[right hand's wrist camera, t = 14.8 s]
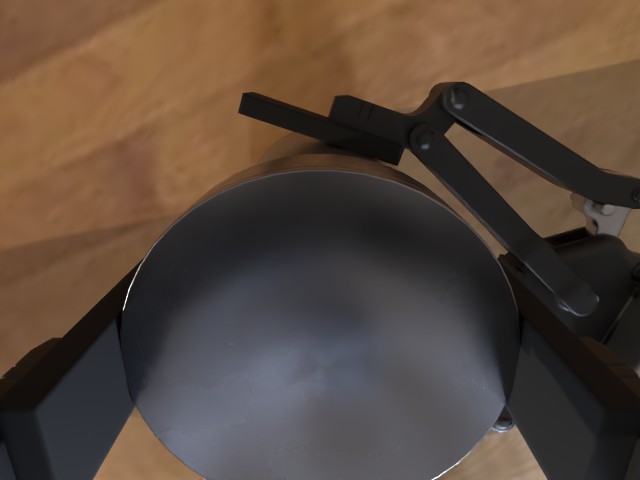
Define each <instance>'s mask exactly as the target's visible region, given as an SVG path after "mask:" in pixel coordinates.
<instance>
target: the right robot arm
mask: <svg viewBox="0 0 640 480" xmlns="http://www.w3.org/2000/svg"><path fill="white" fill-rule="evenodd" d="M142 261H143V259H142V260H141V261H140V262H139V263H138V264H137V265H136V266H135V267H134V268H133V269H132V270H131V271H130V272H129V273H128V274H127V275H126V276H125V277H124V278H123V279H122V280H121V281H120V282H119V283H118V284H117V285H116V286H115V287H114V288H113V289H112V290H111V291H110V292H109V293H108V294H107V295H106V296H104V297H103V298H102V299H101V300H100V301H99V302H98V303H97V304H96V305H95V306H94V307H93V308H92V309H91V310H90V311H89V312H88V313H87V314H86V315H85V316H84V317H83V318H82V319H81V320H80V321H79V322H78V323H77V324H76V325H75V326H74V327H73V328H72V329H71V330H70V331H69V332H68V333H67V334H66V335H65V336H64V337H63V338H52V339H50V340H48V341H46V342H45V343H43V344H41V345H39V346H38V347H36V348H34V349H32V350H31V351H30V352H29V353H27V354H26V355H25V356H24V357H23V358H22V359H21V360H20V361H19V362H18V363H17V364H16V366H15V367H12V368H11V369H10V370H9V371H8V372H7V373H6V374H4V375H3V378H2V379H0V480H93V478H94V477H95V475H96V473H97V471H98V470H99V468H100V466H101V464H102V463H103V461H104V459H105V457H106V456H107V454H108V452H109V451H110V449H111V447H112V445H113V444H114V442H115V440H116V438H117V437H118V435H119V433H120V431H121V430H122V428H123V426H124V425H125V423H126V421H127V419H128V418H129V416H130V414H131V412H132V411H133V409H134V407H135V403H134V401H133V399H132V396H131V393H130V390H129V388H128V385H127V380H126V376H125V370H124V365H123V360H122V354H121V348H120V329H121V320H122V312H123V307H124V304H125V300H126V297H127V293H128V290H129V287H130V284H131V282H132V280H133V278H134V276H135V274H136V272H137V269H138V267H139V265H140V264H141V262H142ZM498 261H499V260H498ZM499 262H500V261H499ZM500 264H501V266H502V268H503V270H504V272H505V274H506V276H507V279H508V281H509V283H510V285H511V288H512V291H513V294H514V298H515V301H516V305H517V308H518V315H519V322H520V330H521V339H520V352H519V358H518V363H517V368H516V373H515V379H514V383H513V387H512V390H511V393H510V395H509V398H508V400H507V402H506V404H505V406H506V408H507V410H508V412H509V413H510V415H511V417H512V419H513V420H514V422H515V424H516V426H517V427H518V429H519V431H520V432H521V434H522V436H523V438H524V439H525V441H526V443H527V445H528V446H529V448H530V450H531V452H532V453H533V455H534V457H535V458H536V460H537V462H538V464H539V465H540V467H541V469H542V471H543V472H544V474H545V476H546V478H547V479H548V480H640V378H639V376H638V374H637V373H636V372H635V371H634V370H633V369H632V368H630V367H629V366H626V365H625V362H624V361H623V360H622V359H621V358H619V357H618V356H617V355H616V354H615V353H614V352H613V351H612V350H611V349H609V348H608V347H606V346H604V345H602V344H601V343H599V342H597V341H595V340H593V339H592V338H590V337H577V336H576V335H575V334H574V333H573V332H572V331H571V330H570V329H569V328H568V327H567V326H566V325H565V324H564V323H563V322H562V321H561V320H560V319H559V318H557V317H556V316H555V315H554V314H553V313H552V312H551V311H550V310H549V309H548V308H547V307H546V306H545V305H544V304H543V303H542V302H541V301H540V300H539V299H538V298H537V297H536V296H535V295H534V294H533V293H532V292H531V291H530V290H529V289H528V288H527V287H526V286H525V285H524V284H523V283H522V282H521V281H520V280H519V279H518V278H517V277H516V276H514V275H513V274H512V273H511V272H510V271H509V270H508V269H507V268H506V267H505V266H504V265H503V264H502V263H501V262H500Z"/></svg>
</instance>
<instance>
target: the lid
mask: <svg viewBox="0 0 640 480" xmlns="http://www.w3.org/2000/svg"><path fill="white" fill-rule="evenodd" d="M520 339H521V330H520V322H519V315H518V308H517V305H516V301H515V298H514V294H513V291H512V288H511V285H510V283H509V281H508V279H507V276H506V274H505V272H504V270H503V268H502V266H501V264H500V262H499V261H498V259H497V258H496V257H495V255H494V254H493V252H492V251H491V249H490V248H489V246H488V245H487V243H486V242H485V241H484V240H483V239H482V238H481V237H480V236H479V235H478V234H477V233H476V231H475V230H474V229H473V228H472V227H471V226H470V225H469V224H468V223H467V222H466V221H465V220H464V219H463V218H462V217H461V216H459V215H458V214H457V213H456V212H455V211H454V210H453V209H452V208H451V207H450V206H449V205H448V204H447V203H445V202H444V201H443V200H442V199H441V198H440V197H438V196H437V195H436V194H435V193H433V192H432V191H431V190H430V189H428V188H427V187H426V186H425V185H423V184H421V183H420V182H418V181H416V180H415V179H413V178H411V177H409V176H408V175H406V174H404V173H402V172H400V171H397V170H395V169H393V168H390V167H388V166H386V165H383V164H380V163H377V162H373V161H369V160H365V159H362V158H358V157H351V156H343V155H336V154H304V155H297V156H290V157H283V158H279V159H275V160H271V161H268V162H264V163H261V164H257V165H255V166H253V167H250V168H248V169H246V170H243V171H241V172H239V173H236V174H234V175H233V176H231V177H229V178H228V179H226V180H224V181H223V182H221V183H219V184H218V185H216V186H215V187H213V188H212V189H211V190H210V191H208V192H207V193H206V194H205V195H204V196H202V197H201V198H200V199H199V200H197V201H196V202H195V203H194V204H193V205H192V206H191V207H190V208H189V209H188V210H187V211H186V212H184V213H183V214H182V215H181V216H180V217H179V218H178V219H177V220H176V221H175V222H174V223H173V224H172V225H171V226H170V227H169V228H168V229H167V230H166V231H165V232H164V233H163V234H162V235H161V237H160V238H159V239H158V240H157V241H156V242H155V243H154V244H153V246H152V247H151V249H150V250H149V252H148V253H147V255H146V256H145V258H144V259H143V261H142V262H141V264H140V265H139V267H138V269H137V272H136V274H135V276H134V278H133V280H132V282H131V284H130V287H129V290H128V293H127V297H126V300H125V304H124V307H123V312H122V320H121V329H120V348H121V354H122V360H123V365H124V370H125V376H126V380H127V385H128V388H129V390H130V393H131V396H132V399H133V401H134V403H135V405H136V406H137V408H138V410H139V412H140V414H141V416H142V418H143V419H144V421H145V422H146V424H147V425H148V426H149V428H150V429H151V431H152V432H153V433H154V435H155V436H156V437H157V438H158V439H159V440H160V442H161V443H162V444H163V445H164V446H165V447H166V448H167V449H168V450H169V451H170V452H171V453H172V454H173V455H174V456H175V457H177V458H178V459H179V460H180V461H181V462H182V463H184V464H185V465H186V466H187V467H189V468H190V469H192V470H193V471H195V472H196V473H198V474H199V475H200V476H202V477H203V478H205V479H207V480H434V479H436V478H437V477H439V476H440V475H442V474H443V473H445V472H446V471H448V470H449V469H450V468H452V467H453V466H455V465H456V464H457V463H458V462H460V461H461V460H462V459H463V458H464V457H465V456H466V455H468V454H469V453H470V452H471V451H472V450H473V449H474V448H475V447H476V446H477V445H478V443H479V442H480V441H481V440H482V439H483V438H484V437H485V436H486V435H487V433H488V432H489V430H490V429H491V427H492V426H493V425H494V423H495V422H496V420H497V419H498V417H499V416H500V414H501V412H502V410H503V408H504V406H505V404H506V402H507V400H508V398H509V395H510V393H511V390H512V387H513V383H514V379H515V373H516V368H517V363H518V358H519V352H520Z"/></svg>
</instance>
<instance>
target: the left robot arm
mask: <svg viewBox="0 0 640 480" xmlns="http://www.w3.org/2000/svg"><path fill="white" fill-rule="evenodd" d="M238 113H240V114H243V115H246V116H249V117H252V118H255V119H258V120H261V121H264V122H267V123H270V124H273V125H276V126H279V127H282V128H285V129H288V130H291V131H294V132H297V133H300V134H303V135H306V136H309V137H312V138H315V139H318V140H321V141H324V142H327V143H330V144H333V145H336V146H339V147H342V148H345V149H348V150H351V151H354V152H357V153H360V154H363V155H366V156H369V157H372V158H375V159H378V160H381V161H384V162H387V163H390V164H392V165H395V166H398V163H399V161H400V158H401V156H402V153H403V151H404V148H406V149H409V150H410V151H411V152H412V153H413V154H414V155H415V156H416V157H417V158H418V159H419V160H420V161H421V162H422V163H423V164H424V165H425V166H426V167H427V168H428V169H429V170H430V171H431V172H432V174H433V175H434V176H435V177H436V178H437V179H438V180H439V181H440V182H441V183H442V184H443V185H444V186H445V187H446V188H447V189H448V190H449V191H450V192H451V193H452V194H453V195H454V196H455V197H456V198H457V199H458V200H459V201H460V202H461V203H462V204H463V205H464V206H465V207H466V208H467V209H468V210H469V211H470V212H471V213H472V215H473V216H474V217H475V218H476V219H477V220H478V221H479V222H480V223H481V224H482V225H483V226H484V227H485V228H486V229H487V230H488V231H489V232H490V233H491V235H492V236H493V237H494V238H495V239H496V240H497V241H498V242H499V243H500V244H501V245H502V246H503V247H504V248H505V249H506V250H507V251H508V253H507V254H506V255H502V254H500V255H499V257H498V260H499V261H500V262H501V263H502V264H503V265H504V266H505V267H506V268H507V269H508V270H509V271H510V272H511V273H512V274H513V275H514V276H516V277H517V278H518V279H519V280H520V281H521V282H522V283H523V284H524V285H525V286H526V287H527V288H528V289H529V290H530V291H531V292H532V293H533V294H534V295H535V296H536V297H537V298H538V299H539V300H540V301H541V302H542V303H543V304H544V305H545V306H546V307H547V308H548V309H549V310H550V311H551V312H552V313H553V314H554V315H555V316H556V317H557V318H559V319H560V320H561V321H562V322H563V323H564V324H565V325H566V326H567V327H568V328H569V329H570V330H571V331H572V332H573V333H574V334H575V335H576V336H577V337H590V338H592V339H593V340H595V341H597V342H599V343H601V344H602V345H604V346H606V347H608V348H609V349H611V350H612V351H613V352H614V353H615V354H616V355H617V356H618V357H619V358H621V359H622V360H623V361H624V362H625V365H626V366H629V367H630V368H632V369H633V370H634V371H635V372H636V373H637V374H638V376H639V378H640V254H639V253H636V252H633V251H630V250H628V249H627V247H626V246H625V244H624V243H623V242H622V241H621V240H620V239H619V238H618V237H619V234H620V232H621V230H622V227H623V225H624V223H625V221H626V218H627V216H628V214H629V211H630V209H631V208H632V209H640V179H639V178H636V177H632V176H629V175H625V174H622V173H618V172H615V171H611V170H608V169H602V168H598V167H596V166H595V165H593V164H592V163H590V162H589V161H587V160H585V159H584V158H582V157H581V156H579V155H578V154H576V153H575V152H573V151H572V150H570V149H569V148H567V147H565V146H564V145H562V144H561V143H559V142H558V141H556V140H555V139H553V138H552V137H550V136H549V135H547V134H545V133H544V132H542V131H541V130H539V129H538V128H536V127H535V126H533V125H532V124H530V123H529V122H527V121H525V120H524V119H522V118H521V117H519V116H518V115H516V114H515V113H513V112H512V111H510V110H509V109H507V108H505V107H504V106H502V105H501V104H499V103H498V102H496V101H495V100H493V99H492V98H490V97H489V96H487V95H485V94H484V93H482V92H481V91H479V90H478V89H476V88H475V87H473V86H472V85H470V84H468V83H465V82H445V83H439V84H437V85H435V86H434V87H433V88H432V89H431V91H430V94H429V96H428V98H427V99H426V100H425V101H424V102H423V104H422V105H421V106H420V107H419V108H418V109H417V110H415V111H414V112H412V113H408V114H402V113H398V112H395V111H392V110H390V109H387V108H384V107H381V106H378V105H375V104H372V103H369V102H367V101H364V100H361V99H358V98H355V97H352V96H349V95H340V96H335V97H334V100H333V103H332V106H331V110H330V113H329V116H328V117H325V116H322V115H319V114H316V113H313V112H310V111H307V110H305V109H302V108H299V107H296V106H293V105H290V104H287V103H284V102H281V101H278V100H275V99H272V98H269V97H266V96H263V95H260V94H258V93H255V92H250V93H243V95H242V99H241V103H240V107H239V111H238ZM454 122H455V123H456V124H458V125H460V126H461V127H463V128H464V129H466V130H468V131H469V132H471V133H472V134H474V135H476V136H477V137H479V138H480V139H482V140H484V141H485V142H487V143H488V144H490V145H491V146H493V147H495V148H496V149H498V150H499V151H501V152H503V153H504V154H506V155H507V156H509V157H511V158H512V159H514V160H515V161H517V162H519V163H520V164H522V165H523V166H525V167H527V168H528V169H530V170H531V171H533V172H535V173H536V174H538V175H539V176H541V177H543V178H544V179H546V180H547V181H549V182H551V183H553V184H555V185H557V186H559V187H561V188H564V189H566V190H569V191H571V192H572V194H571V197H570V198H571V200H572V205H573V207H574V209H575V210H577V211H579V212H580V213H582V214H583V215H584V216H585V218H586V227H581V228H577V229H574V230H570V231H567V232H563V233H560V234H556V235H553V236H549V237H546V238H541V237H540V236H539V235H538V234H537V233H535V232H534V231H533V230H532V229H531V228H530V227H529V226H528V224H527V223H526V222H525V221H524V220H523V219H522V218H521V217H520V216H519V215H518V214H517V213H516V212H515V211H514V210H513V208H512V207H511V206H510V205H509V204H508V203H507V202H506V201H505V200H504V199H503V198H502V197H501V196H500V195H499V194H498V192H497V191H496V190H495V189H494V188H493V187H492V186H491V185H490V184H489V183H488V182H487V181H486V180H485V179H484V178H483V177H482V175H481V174H480V173H479V172H478V171H477V170H476V169H475V168H474V167H473V166H472V165H471V164H470V163H469V162H468V161H467V159H466V158H465V157H464V156H463V155H462V154H461V153H460V152H459V151H458V150H457V149H456V148H455V147H454V146H453V145H452V143H451V142H450V141H449V140H448V139H447V138H446V137H445V136H444V134H445V133H446V132H447V131H448V129H449V128H450V127H451V126H452V125H453V124H454ZM514 424H515V422H514V420H513V419H512V417H511V415H510V413H509V412H508V410H507V408H506V406H504V408H503V410H502V412H501V414H500V416H499V417H498V419H497V420H496V422H495V423H494V425H493V426H492V427H491V429H492V430H495V431H498V432H505V431H508V430H510V429H511V428H512V427H513V426H514Z"/></svg>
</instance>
